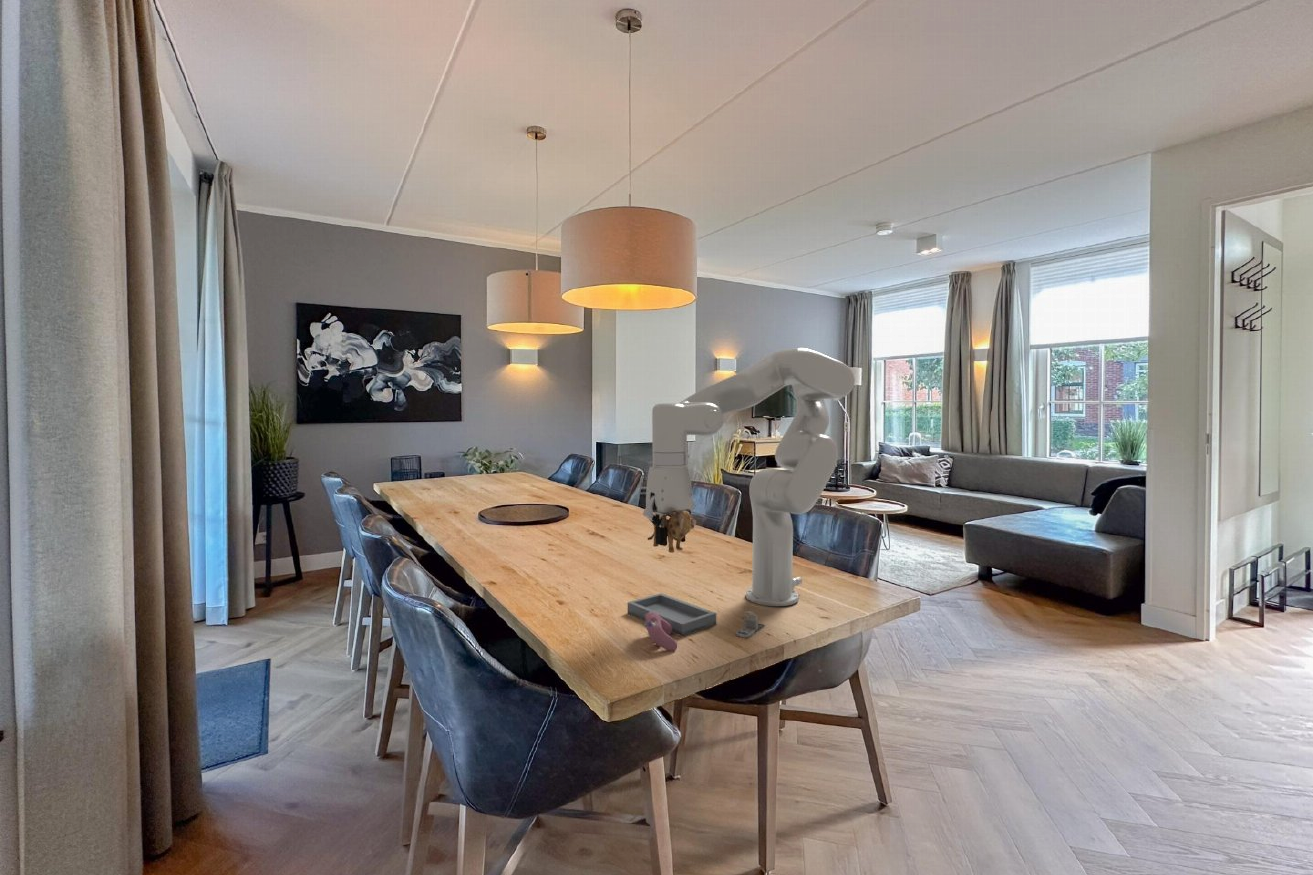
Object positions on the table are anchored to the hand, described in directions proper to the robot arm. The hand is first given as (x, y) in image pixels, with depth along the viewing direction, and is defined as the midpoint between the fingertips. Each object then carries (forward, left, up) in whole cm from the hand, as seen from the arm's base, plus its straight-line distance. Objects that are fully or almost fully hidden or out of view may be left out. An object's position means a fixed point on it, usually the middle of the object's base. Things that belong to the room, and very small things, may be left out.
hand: (670, 541), depth 129 cm
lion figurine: (-1, -1, -2) cm, 2 cm away
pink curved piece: (+11, +8, -17) cm, 22 cm away
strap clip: (-8, +16, -18) cm, 25 cm away
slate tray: (0, 0, -17) cm, 17 cm away
